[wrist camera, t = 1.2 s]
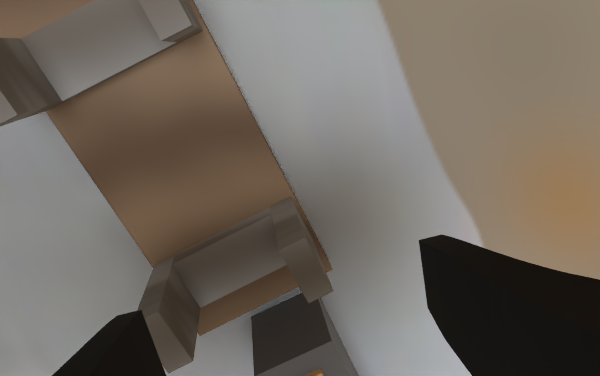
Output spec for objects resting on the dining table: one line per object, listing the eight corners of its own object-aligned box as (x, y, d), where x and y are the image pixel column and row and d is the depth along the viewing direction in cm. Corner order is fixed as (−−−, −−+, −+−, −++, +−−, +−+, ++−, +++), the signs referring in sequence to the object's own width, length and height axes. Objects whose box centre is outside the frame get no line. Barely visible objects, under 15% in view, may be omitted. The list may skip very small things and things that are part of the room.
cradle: (328, 259, 22) (356, 325, 17) (201, 323, 22) (190, 408, 17) (152, -78, 17) (113, -135, 11) (-13, 8, 17) (-125, -10, 12)
